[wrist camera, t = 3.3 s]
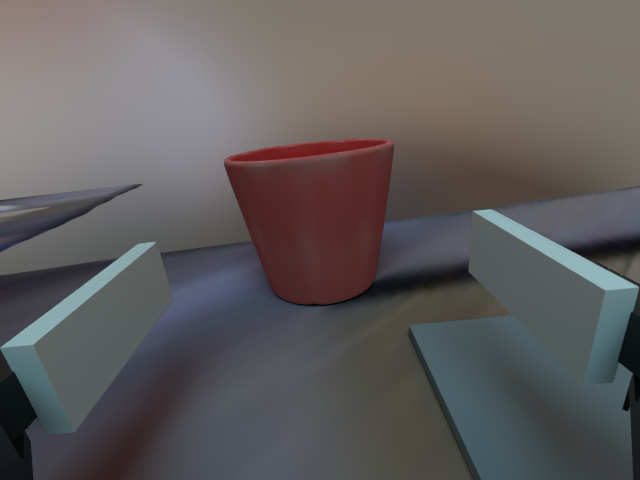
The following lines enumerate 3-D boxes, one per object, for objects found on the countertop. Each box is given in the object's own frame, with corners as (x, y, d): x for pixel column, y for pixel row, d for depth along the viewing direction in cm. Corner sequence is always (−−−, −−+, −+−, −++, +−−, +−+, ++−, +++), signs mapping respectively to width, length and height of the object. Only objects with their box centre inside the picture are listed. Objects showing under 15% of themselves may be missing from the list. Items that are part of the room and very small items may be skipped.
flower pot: (252, 261, 30) (232, 148, 26) (372, 244, 31) (368, 134, 27) (243, 332, 20) (209, 167, 16) (421, 304, 21) (423, 143, 17)
